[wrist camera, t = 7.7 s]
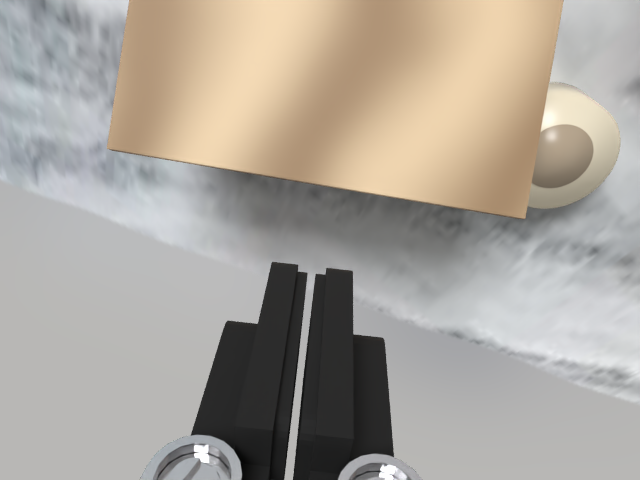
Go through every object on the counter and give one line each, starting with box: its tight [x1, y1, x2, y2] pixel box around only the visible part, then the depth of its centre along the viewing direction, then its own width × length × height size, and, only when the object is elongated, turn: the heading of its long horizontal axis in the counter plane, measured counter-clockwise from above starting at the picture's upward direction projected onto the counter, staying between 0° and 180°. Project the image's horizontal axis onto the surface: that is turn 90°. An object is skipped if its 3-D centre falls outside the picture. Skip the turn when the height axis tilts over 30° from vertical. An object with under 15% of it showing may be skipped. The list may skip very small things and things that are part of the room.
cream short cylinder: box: [528, 82, 620, 209], centre depth 25 cm, size 6×6×3 cm
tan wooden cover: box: [107, 0, 564, 219], centre depth 17 cm, size 14×8×1 cm, turn 81°
